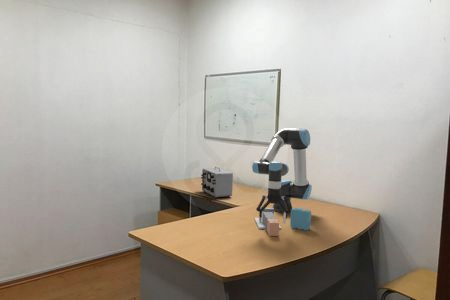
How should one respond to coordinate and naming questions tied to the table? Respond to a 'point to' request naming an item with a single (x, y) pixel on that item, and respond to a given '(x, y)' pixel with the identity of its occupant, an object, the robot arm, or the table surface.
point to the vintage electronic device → (217, 182)
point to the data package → (300, 219)
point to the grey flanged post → (265, 218)
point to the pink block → (272, 227)
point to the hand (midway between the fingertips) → (273, 223)
